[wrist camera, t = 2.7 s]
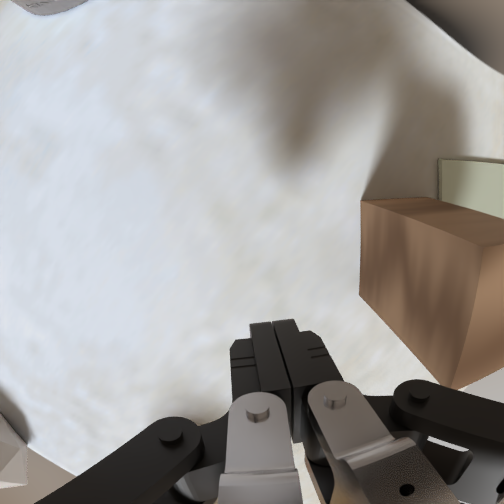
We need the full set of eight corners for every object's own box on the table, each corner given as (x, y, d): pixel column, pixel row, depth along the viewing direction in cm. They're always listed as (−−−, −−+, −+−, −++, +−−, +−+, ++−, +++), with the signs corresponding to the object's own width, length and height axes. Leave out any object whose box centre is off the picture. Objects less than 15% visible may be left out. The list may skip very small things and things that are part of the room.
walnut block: (360, 200, 17) (483, 247, 8) (427, 197, 18) (550, 235, 8) (358, 294, 19) (448, 393, 9) (421, 283, 19) (519, 358, 10)
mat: (438, 159, 17) (441, 159, 16) (529, 167, 18) (532, 167, 17) (427, 312, 20) (430, 315, 20) (517, 285, 21) (520, 287, 20)
